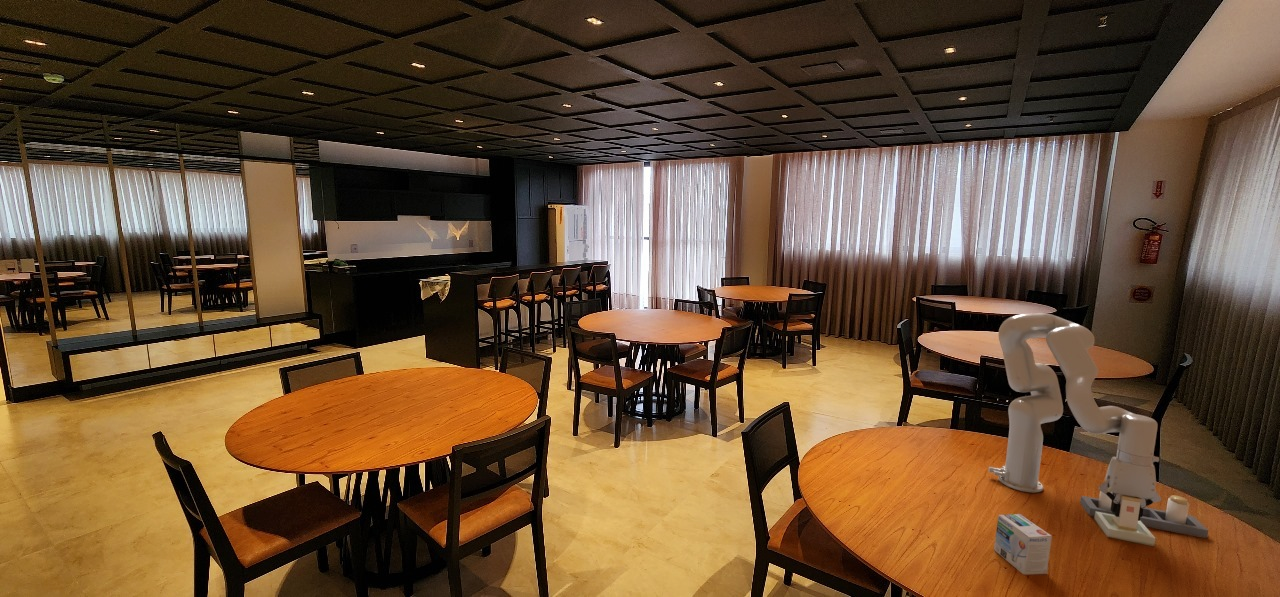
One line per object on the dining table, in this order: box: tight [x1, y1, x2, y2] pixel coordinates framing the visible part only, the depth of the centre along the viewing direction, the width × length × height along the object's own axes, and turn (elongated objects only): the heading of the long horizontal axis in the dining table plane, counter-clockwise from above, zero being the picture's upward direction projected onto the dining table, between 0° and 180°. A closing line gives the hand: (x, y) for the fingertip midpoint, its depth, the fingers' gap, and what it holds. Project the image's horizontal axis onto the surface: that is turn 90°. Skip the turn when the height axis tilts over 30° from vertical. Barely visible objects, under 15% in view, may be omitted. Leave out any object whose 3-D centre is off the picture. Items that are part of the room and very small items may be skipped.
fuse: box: [1113, 495, 1141, 532], centre depth 152 cm, size 4×4×10 cm
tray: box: [1093, 511, 1156, 547], centre depth 153 cm, size 10×10×2 cm
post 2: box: [1165, 494, 1190, 524], centre depth 156 cm, size 4×4×9 cm
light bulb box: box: [993, 513, 1053, 576], centre depth 138 cm, size 11×7×11 cm, turn 5°
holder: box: [1079, 495, 1209, 539], centre depth 160 cm, size 27×8×2 cm, turn 65°
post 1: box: [1098, 487, 1112, 510], centre depth 163 cm, size 4×4×9 cm
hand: (1125, 515), depth 153 cm, fingers closed on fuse, 4 cm apart
